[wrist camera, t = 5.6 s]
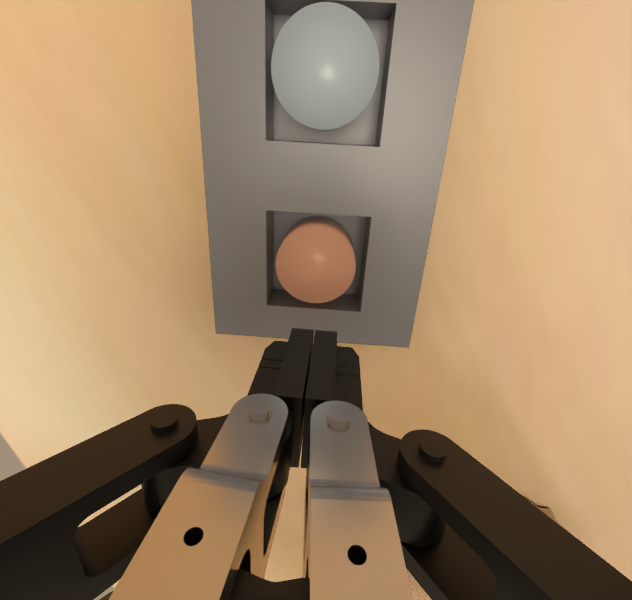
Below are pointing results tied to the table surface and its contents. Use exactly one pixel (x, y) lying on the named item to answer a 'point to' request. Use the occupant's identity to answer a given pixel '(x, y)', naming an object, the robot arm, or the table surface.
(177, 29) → the table surface
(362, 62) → the slate button
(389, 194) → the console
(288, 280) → the terracotta button
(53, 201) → the table surface
